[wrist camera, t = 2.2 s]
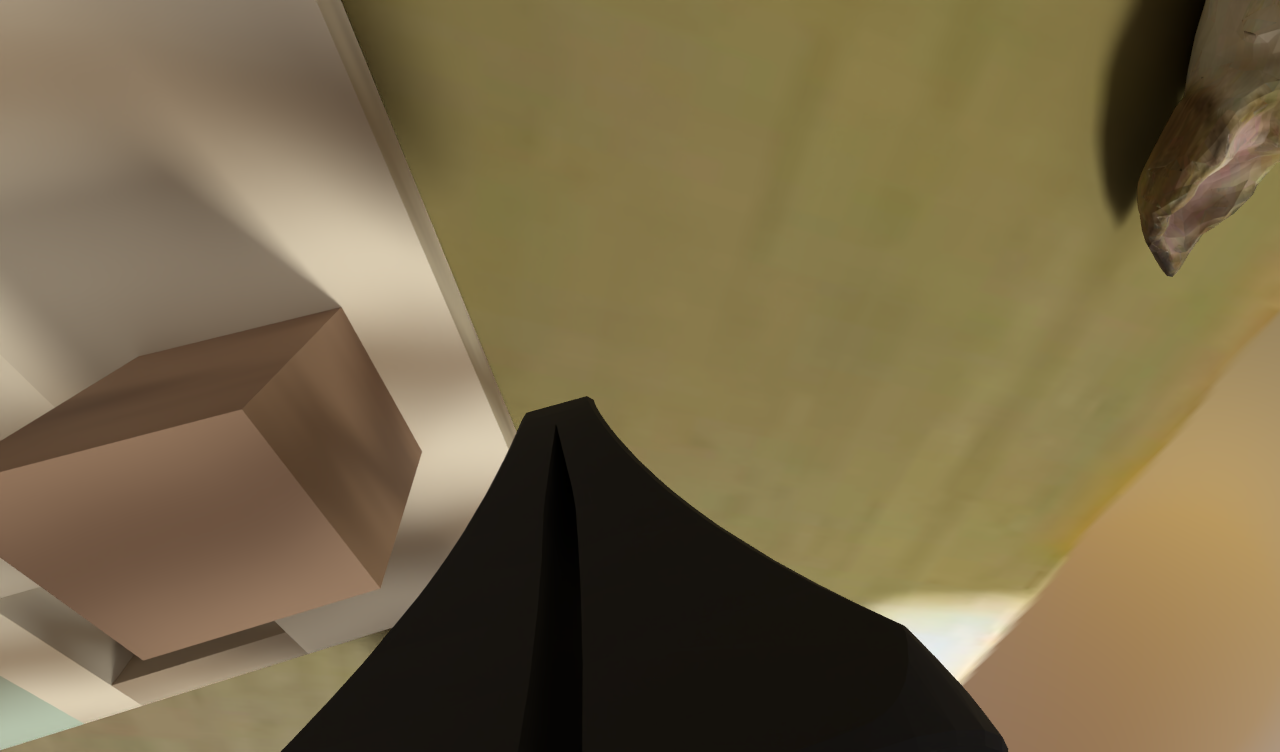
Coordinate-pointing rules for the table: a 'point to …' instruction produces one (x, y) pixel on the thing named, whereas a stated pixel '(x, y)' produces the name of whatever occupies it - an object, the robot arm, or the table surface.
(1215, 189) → the ceramic sculpture
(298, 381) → the walnut block
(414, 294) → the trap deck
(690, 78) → the table surface
